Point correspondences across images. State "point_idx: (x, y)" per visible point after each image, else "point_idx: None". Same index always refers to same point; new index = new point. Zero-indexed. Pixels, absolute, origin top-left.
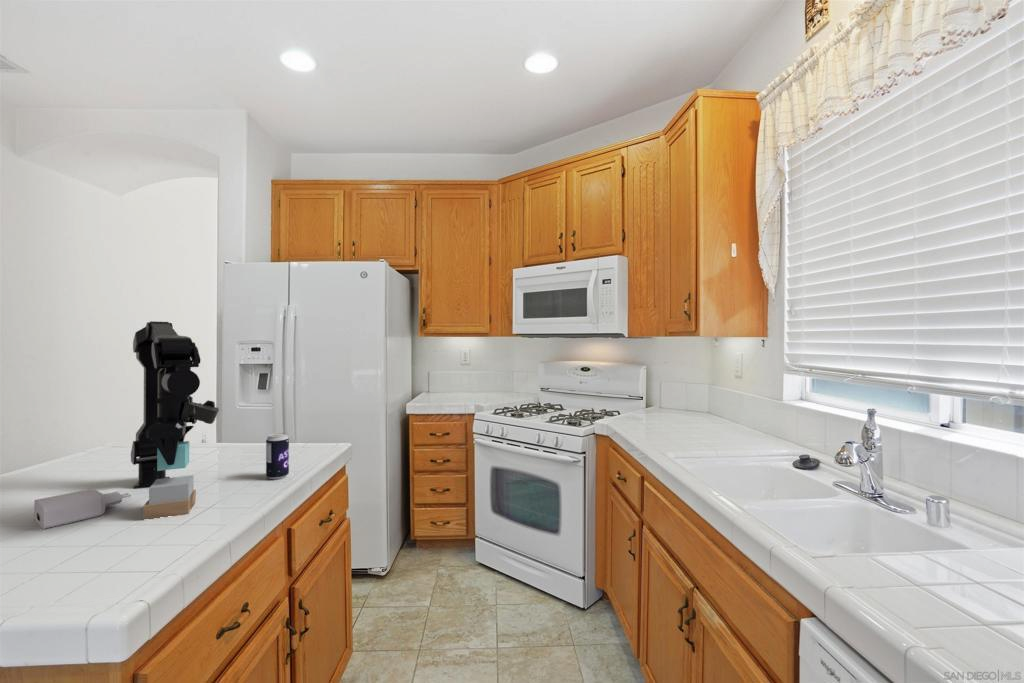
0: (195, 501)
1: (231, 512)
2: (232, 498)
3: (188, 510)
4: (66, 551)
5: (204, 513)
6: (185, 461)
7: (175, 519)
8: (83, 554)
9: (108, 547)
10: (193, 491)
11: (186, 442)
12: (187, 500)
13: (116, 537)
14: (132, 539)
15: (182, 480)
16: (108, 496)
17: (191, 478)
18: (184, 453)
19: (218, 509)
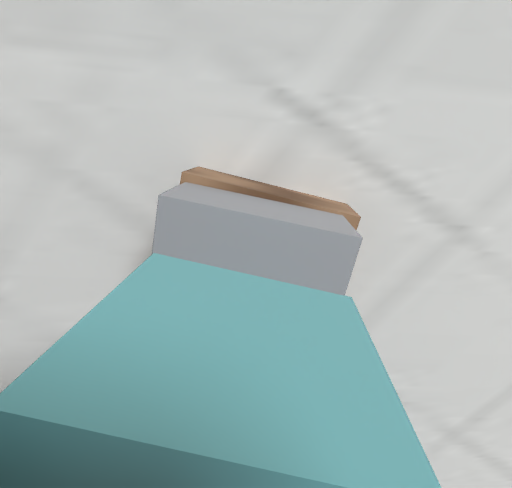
0: (199, 167)
1: (466, 36)
2: (236, 2)
3: (345, 206)
4: (443, 478)
5: (385, 147)
6: (347, 322)
7: (378, 247)
8: (506, 452)
9: (502, 410)
10: (212, 184)
11: (104, 457)
12: (357, 220)
13: (426, 394)
14: (486, 362)
15: (254, 260)
16: None
17: (238, 212)
18: (392, 398)
19: (372, 87)
